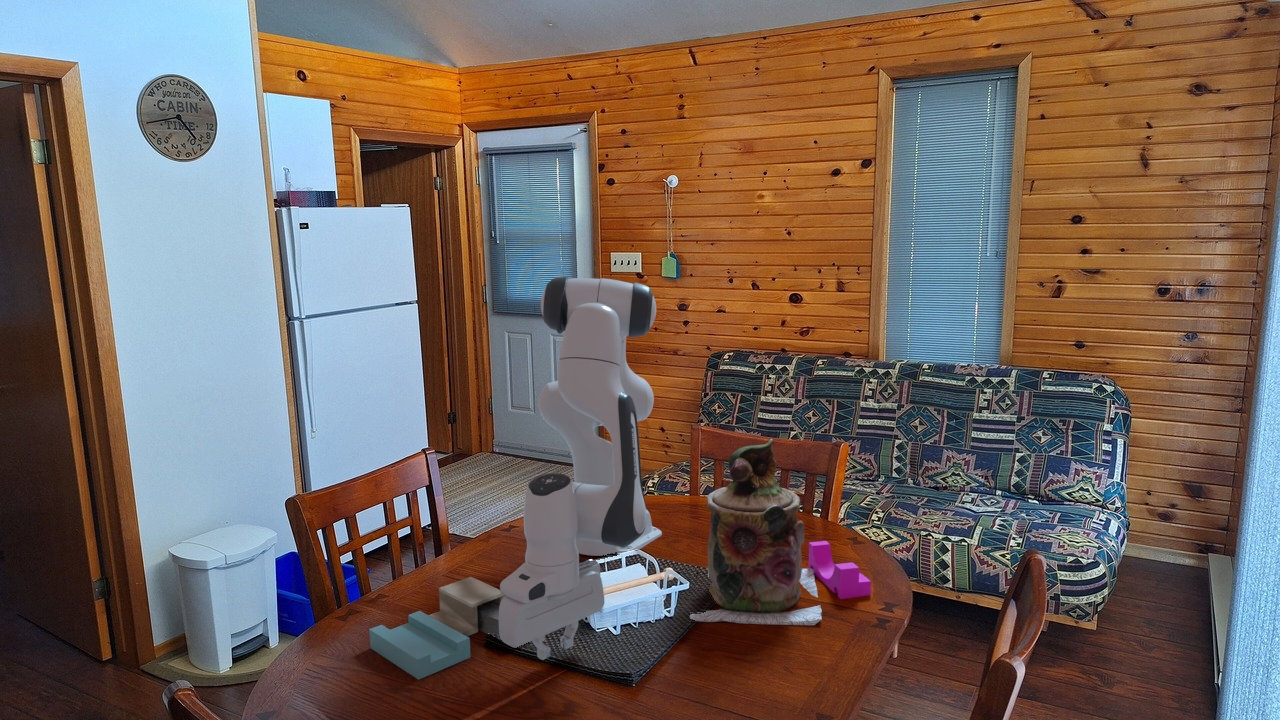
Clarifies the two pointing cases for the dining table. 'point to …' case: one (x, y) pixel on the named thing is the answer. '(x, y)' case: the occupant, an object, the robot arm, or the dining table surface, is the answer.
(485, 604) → the gray rectangular bar
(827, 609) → the dining table surface
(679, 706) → the dining table surface
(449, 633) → the teal grooved block
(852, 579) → the toy block
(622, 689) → the dining table surface
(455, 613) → the bracket
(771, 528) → the cookie jar
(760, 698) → the dining table surface
